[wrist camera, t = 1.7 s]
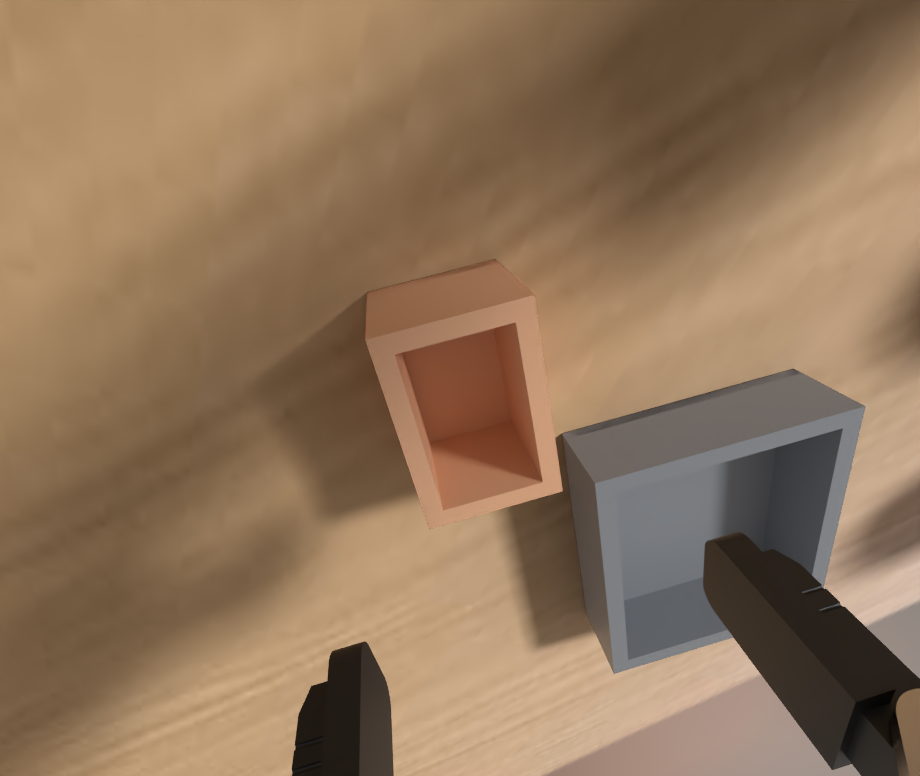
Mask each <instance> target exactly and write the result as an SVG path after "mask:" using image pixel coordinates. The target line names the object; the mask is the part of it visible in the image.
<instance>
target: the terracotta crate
mask: <svg viewBox="0 0 920 776" xmlns="http://www.w3.org/2000/svg"><path fill="white" fill-rule="evenodd" d="M365 341H366V344H367V347H368V350H369V353H370V356H371V358H372V361H373V364H374V367H375V370H376V373H377V376H378V379H379V382H380V385H381V388H382V391H383V394H384V397H385V400H386V403H387V406H388V409H389V412H390V415H391V418H392V421H393V423H394V426H395V429H396V432H397V435H398V438H399V441H400V444H401V447H402V450H403V453H404V456H405V459H406V462H407V465H408V468H409V471H410V474H411V477H412V480H413V483H414V486H415V488H416V491H417V494H418V497H419V500H420V503H421V506H422V509H423V512H424V515H425V518H426V521H427V524H428V527H429V529H433V528H436V527H440V526H443V525H447V524H450V523H454V522H457V521H461V520H464V519H468V518H471V517H475V516H478V515H482V514H485V513H489V512H492V511H496V510H499V509H503V508H506V507H510V506H513V505H517V504H520V503H524V502H527V501H531V500H534V499H538V498H541V497H545V496H548V495H552V494H555V493H559V492H562V491H563V489H562V482H561V475H560V468H559V461H558V455H557V448H556V441H555V434H554V427H553V420H552V413H551V406H550V399H549V392H548V385H547V378H546V371H545V364H544V357H543V350H542V343H541V337H540V330H539V323H538V316H537V309H536V302H535V295H534V294H533V293H532V292H531V291H530V290H528V289H527V288H526V287H525V286H524V285H523V284H522V283H521V282H520V281H519V280H517V279H516V278H515V277H514V276H513V275H512V274H511V273H510V272H509V271H508V270H506V269H505V268H504V267H503V266H502V265H501V264H500V263H499V262H498V261H497V260H496V259H493V260H489V261H485V262H481V263H477V264H474V265H470V266H466V267H462V268H458V269H454V270H451V271H447V272H443V273H439V274H435V275H431V276H428V277H424V278H420V279H416V280H412V281H408V282H405V283H401V284H397V285H393V286H389V287H385V288H382V289H378V290H374V291H370V292H367V305H366V332H365Z"/></svg>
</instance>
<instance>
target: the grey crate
mask: <svg viewBox="0 0 920 776" xmlns="http://www.w3.org/2000/svg"><path fill="white" fill-rule="evenodd" d="M864 410H865V406H864V405H862V404H860V403H858V402H856V401H854V400H852V399H850V398H849V397H847V396H845V395H843V394H841V393H839V392H837V391H835V390H833V389H831V388H829V387H828V386H826V385H824V384H822V383H820V382H818V381H816V380H814V379H812V378H810V377H809V376H807V375H805V374H803V373H801V372H799V371H797V370H795V369H791V370H788V371H784V372H780V373H777V374H773V375H770V376H766V377H763V378H759V379H755V380H752V381H748V382H745V383H741V384H738V385H734V386H730V387H727V388H723V389H720V390H716V391H713V392H709V393H705V394H702V395H698V396H695V397H691V398H688V399H684V400H680V401H677V402H673V403H670V404H666V405H663V406H659V407H655V408H652V409H648V410H645V411H641V412H638V413H634V414H630V415H627V416H623V417H620V418H616V419H612V420H609V421H605V422H602V423H598V424H595V425H591V426H587V427H584V428H580V429H577V430H573V431H570V432H566V433H562V438H563V445H564V453H565V460H566V467H567V475H568V482H569V490H570V497H571V505H572V512H573V519H574V527H575V534H576V542H577V549H578V556H579V564H580V571H581V579H582V586H583V593H584V601H585V608H586V614H587V616H588V618H589V620H590V622H591V625H592V627H593V629H594V631H595V633H596V635H597V638H598V640H599V642H600V644H601V646H602V649H603V651H604V653H605V655H606V657H607V659H608V662H609V664H610V666H611V668H612V670H613V672H614V674H615V673H618V672H621V671H625V670H628V669H631V668H634V667H638V666H641V665H644V664H648V663H651V662H654V661H657V660H661V659H664V658H667V657H670V656H674V655H677V654H680V653H684V652H687V651H690V650H693V649H697V648H700V647H703V646H707V645H710V644H713V643H716V642H720V641H723V640H726V639H729V638H733V636H732V635H731V633H730V632H729V631H728V629H727V628H726V627H725V625H724V624H723V623H722V621H721V620H720V618H719V617H718V616H717V614H716V613H715V612H714V610H713V609H712V607H711V605H710V603H709V602H708V599H707V597H706V595H705V591H704V588H703V570H704V550H705V543H706V542H707V541H708V540H712V539H715V538H719V537H722V536H725V535H729V534H732V533H735V532H741V533H743V534H745V535H746V536H747V537H749V538H750V539H751V540H752V541H753V542H754V544H755V545H756V546H757V547H758V548H759V549H760V550H761V551H762V552H764V551H767V550H771V549H775V550H776V551H778V552H780V553H782V554H783V555H785V556H787V557H789V558H791V559H792V560H794V561H796V562H798V563H799V564H801V565H802V566H803V567H804V568H805V569H806V570H807V571H808V572H809V573H810V574H811V575H812V576H813V577H814V578H815V579H816V580H817V581H818V582H819V583H821V584H822V587H824V582H825V578H826V574H827V569H828V565H829V561H830V557H831V552H832V548H833V544H834V539H835V535H836V531H837V526H838V522H839V518H840V513H841V509H842V505H843V500H844V496H845V492H846V487H847V483H848V479H849V474H850V470H851V466H852V462H853V457H854V453H855V449H856V444H857V440H858V436H859V431H860V427H861V423H862V418H863V414H864Z"/></svg>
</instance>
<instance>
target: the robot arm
mask: <svg viewBox="0 0 920 776" xmlns="http://www.w3.org/2000/svg"><path fill="white" fill-rule="evenodd" d="M703 588H704V591H705V595H706V597H707V599H708V602H709V603H710V605H711V607H712V609H713V610H714V612H715V613H716V614H717V616H718V617H719V618H720V620H721V621H722V623H723V624H724V625H725V627H726V628H727V629H728V631H729V632H730V633H731V635H732V636H733V637H734V639H735V640H736V641H737V643H738V644H739V645H740V647H741V648H742V649H743V651H744V652H745V653H746V655H747V656H748V657H749V659H750V660H751V661H752V663H753V664H754V665H755V667H756V668H757V670H758V671H759V672H760V674H761V675H762V676H763V678H764V679H765V680H766V682H767V683H768V684H769V686H770V687H771V688H772V690H773V691H774V692H775V694H776V695H777V696H778V698H779V699H780V700H781V702H782V703H783V704H784V706H785V707H786V708H787V710H788V711H789V712H790V714H791V715H792V716H793V718H794V719H795V720H796V722H797V723H798V725H799V726H800V727H801V728H802V730H803V731H804V733H805V734H806V735H807V737H808V738H809V739H810V741H811V742H812V743H813V745H814V746H815V747H816V749H817V750H818V751H819V753H820V754H821V755H822V757H823V758H824V760H825V761H826V762H827V763H828V765H829V766H830V768H831V769H832V770H834V769H837V768H840V767H843V766H846V765H849V764H853V766H854V767H855V768H856V769H857V771H858V772H859V773H860V775H861V776H920V678H918V677H917V676H916V675H915V674H914V673H913V672H912V671H911V670H910V669H909V668H907V666H905V665H904V664H903V663H902V662H901V661H900V660H899V659H898V658H897V657H896V656H895V655H894V654H893V653H892V652H891V651H890V650H889V649H888V648H887V647H886V646H885V645H884V644H883V643H882V642H881V641H880V640H879V639H877V638H876V637H875V636H874V635H873V634H872V633H871V632H870V631H869V630H868V629H867V628H866V627H865V626H864V625H863V624H862V623H861V622H860V621H859V620H858V619H857V618H856V617H855V616H854V615H853V614H852V613H851V612H850V611H848V610H847V609H846V608H845V607H842V606H841V605H840V602H839V601H838V600H837V599H836V598H835V597H834V596H833V595H832V594H831V593H830V592H829V591H828V590H827V589H824V588H823V587H822V584H821V583H819V582H818V581H817V580H816V579H815V578H814V577H813V576H812V575H811V574H810V573H809V572H808V571H807V570H806V569H805V568H804V567H803V566H802V565H801V564H799V563H798V562H796V561H794V560H792V559H791V558H789V557H787V556H785V555H783V554H782V553H780V552H778V551H776V550H775V549H771V550H767V551H764V552H762V551H761V550H760V549H759V548H758V547H757V546H756V545H755V544H754V542H753V541H752V540H751V539H750V538H749V537H747V536H746V535H745V534H743V533H741V532H735V533H732V534H729V535H725V536H722V537H719V538H715V539H712V540H708V541H707V542H706V543H705V550H704V570H703ZM295 746H296V749H295V750H294V756H293V764H292V772H293V774H292V776H393V749H392V723H391V704H390V696H389V691H388V686H387V683H386V680H385V677H384V675H383V673H382V671H381V669H380V667H379V665H378V663H377V661H376V659H375V657H374V655H373V653H372V651H371V649H370V647H369V645H368V644H367V642H361V643H358V644H354V645H351V646H348V647H344V648H341V649H338V650H334V651H332V653H331V655H330V659H329V668H328V681H327V682H324V683H320V684H317V685H314V686H311V688H310V690H309V693H308V695H307V697H306V699H305V702H304V704H303V706H302V708H301V711H300V713H299V716H298V724H297V732H296V740H295Z"/></svg>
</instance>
